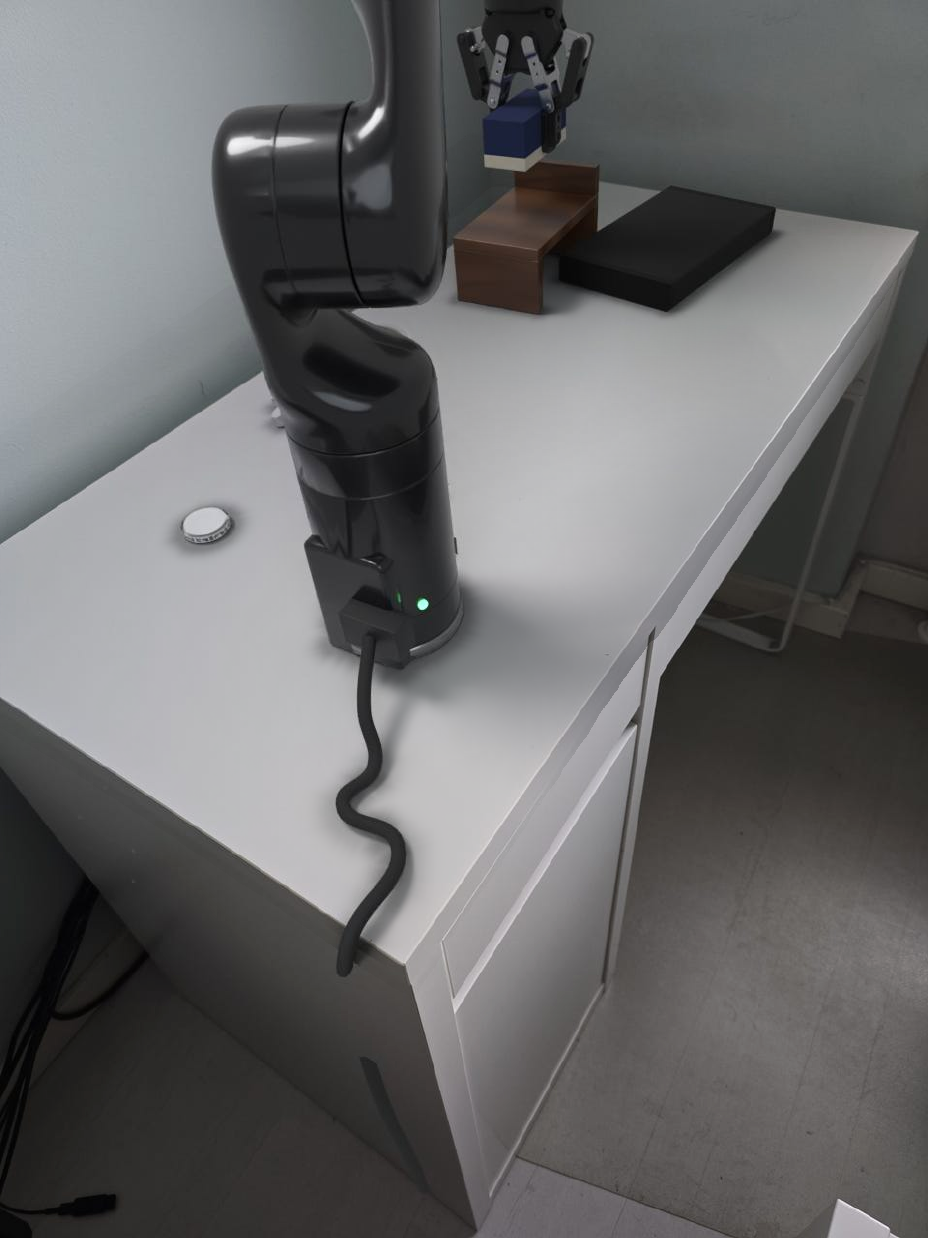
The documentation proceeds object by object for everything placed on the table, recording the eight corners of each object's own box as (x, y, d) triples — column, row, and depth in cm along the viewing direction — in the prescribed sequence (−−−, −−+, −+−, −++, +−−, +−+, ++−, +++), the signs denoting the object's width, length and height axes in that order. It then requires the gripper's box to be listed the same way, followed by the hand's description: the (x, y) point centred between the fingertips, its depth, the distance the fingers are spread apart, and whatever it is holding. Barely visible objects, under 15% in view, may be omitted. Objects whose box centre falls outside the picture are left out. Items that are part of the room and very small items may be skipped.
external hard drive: (558, 280, 99) (558, 254, 97) (667, 209, 110) (669, 184, 108) (668, 312, 92) (670, 284, 90) (772, 233, 103) (776, 206, 101)
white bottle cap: (235, 510, 74) (233, 504, 73) (225, 541, 71) (223, 535, 70) (188, 512, 74) (186, 506, 73) (177, 543, 71) (175, 537, 71)
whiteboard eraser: (525, 171, 87) (524, 122, 84) (484, 167, 89) (481, 118, 86) (566, 138, 93) (566, 90, 90) (527, 134, 95) (526, 87, 91)
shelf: (538, 314, 94) (537, 219, 87) (457, 300, 98) (450, 207, 90) (596, 253, 103) (599, 163, 96) (520, 242, 107) (518, 154, 100)
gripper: (432, -50, 79) (448, 153, 91) (578, -49, 73) (575, 167, 86) (471, -66, 83) (482, 130, 95) (612, -66, 78) (604, 142, 90)
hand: (526, 147), depth 90 cm, fingers closed on whiteboard eraser, 4 cm apart
